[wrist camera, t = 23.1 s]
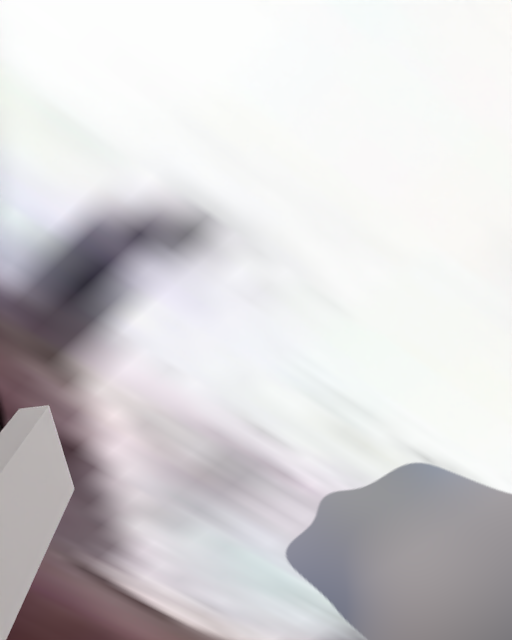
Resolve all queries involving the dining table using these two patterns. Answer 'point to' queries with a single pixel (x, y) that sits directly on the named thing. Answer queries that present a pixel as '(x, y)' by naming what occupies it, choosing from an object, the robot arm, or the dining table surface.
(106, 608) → the dining table surface
